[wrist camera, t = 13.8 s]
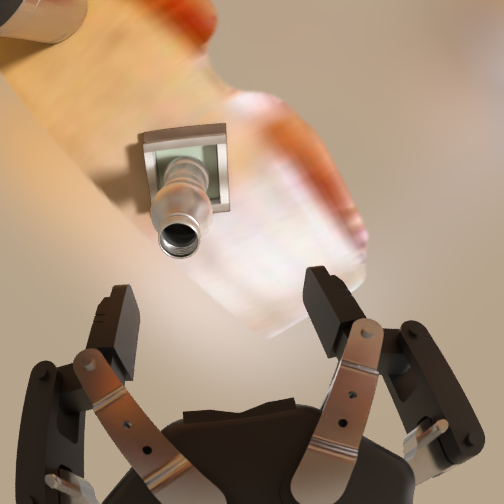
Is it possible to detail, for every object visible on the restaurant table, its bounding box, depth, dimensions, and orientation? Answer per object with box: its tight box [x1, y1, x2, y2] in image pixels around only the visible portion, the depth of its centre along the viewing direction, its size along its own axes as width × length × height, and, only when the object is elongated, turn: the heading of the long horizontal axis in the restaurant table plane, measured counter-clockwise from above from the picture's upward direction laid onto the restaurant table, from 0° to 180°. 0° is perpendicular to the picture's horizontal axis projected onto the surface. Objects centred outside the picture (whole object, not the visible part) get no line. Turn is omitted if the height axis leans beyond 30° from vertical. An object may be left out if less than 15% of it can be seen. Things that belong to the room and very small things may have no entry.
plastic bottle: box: [150, 155, 213, 259], centre depth 31 cm, size 6×7×20 cm
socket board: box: [143, 123, 230, 213], centre depth 39 cm, size 14×12×4 cm
